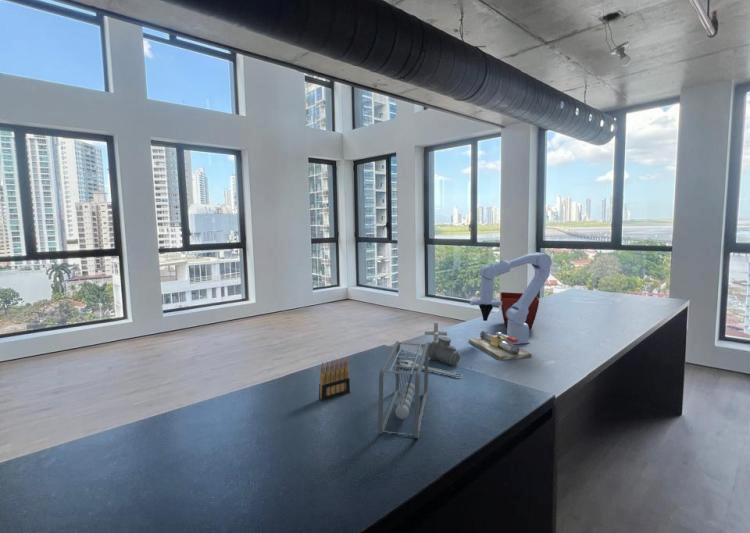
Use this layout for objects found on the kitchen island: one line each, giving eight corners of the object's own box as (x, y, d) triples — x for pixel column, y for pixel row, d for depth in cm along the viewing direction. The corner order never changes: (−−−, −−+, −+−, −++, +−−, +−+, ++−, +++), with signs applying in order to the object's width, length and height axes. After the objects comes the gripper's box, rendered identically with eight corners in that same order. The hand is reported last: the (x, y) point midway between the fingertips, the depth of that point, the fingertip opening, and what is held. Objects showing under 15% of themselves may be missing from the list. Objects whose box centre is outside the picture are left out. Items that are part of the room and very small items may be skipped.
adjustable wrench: (462, 378, 148) (463, 373, 148) (455, 383, 143) (455, 379, 142) (404, 362, 163) (404, 358, 162) (395, 367, 157) (395, 363, 157)
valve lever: (494, 334, 181) (495, 331, 180) (499, 334, 181) (499, 331, 181) (512, 342, 169) (512, 339, 168) (517, 342, 169) (517, 339, 169)
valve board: (496, 339, 195) (496, 336, 195) (531, 357, 170) (531, 353, 170) (468, 341, 191) (468, 338, 191) (499, 360, 166) (500, 356, 166)
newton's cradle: (395, 391, 135) (396, 339, 133) (427, 394, 133) (428, 341, 131) (377, 437, 106) (378, 372, 104) (417, 442, 103) (419, 375, 101)
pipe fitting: (424, 359, 164) (429, 335, 163) (437, 356, 170) (441, 333, 168) (448, 371, 156) (452, 345, 154) (460, 367, 161) (465, 343, 160)
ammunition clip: (321, 401, 126) (321, 364, 125) (318, 399, 128) (318, 362, 127) (350, 392, 133) (350, 357, 132) (346, 390, 134) (347, 355, 133)
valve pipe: (487, 338, 193) (488, 327, 192) (519, 355, 169) (520, 342, 169) (479, 339, 192) (479, 327, 191) (510, 356, 168) (511, 343, 167)
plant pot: (499, 329, 215) (500, 297, 213) (499, 320, 233) (500, 291, 231) (537, 332, 209) (539, 300, 207) (534, 323, 227) (536, 293, 225)
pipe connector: (445, 341, 192) (446, 320, 191) (447, 347, 182) (447, 325, 181) (424, 340, 193) (424, 319, 192) (424, 346, 183) (425, 324, 182)
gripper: (474, 292, 184) (472, 322, 185) (505, 293, 185) (503, 322, 186) (469, 290, 191) (467, 318, 192) (499, 290, 192) (497, 319, 193)
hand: (484, 320), depth 190 cm, fingers closed
